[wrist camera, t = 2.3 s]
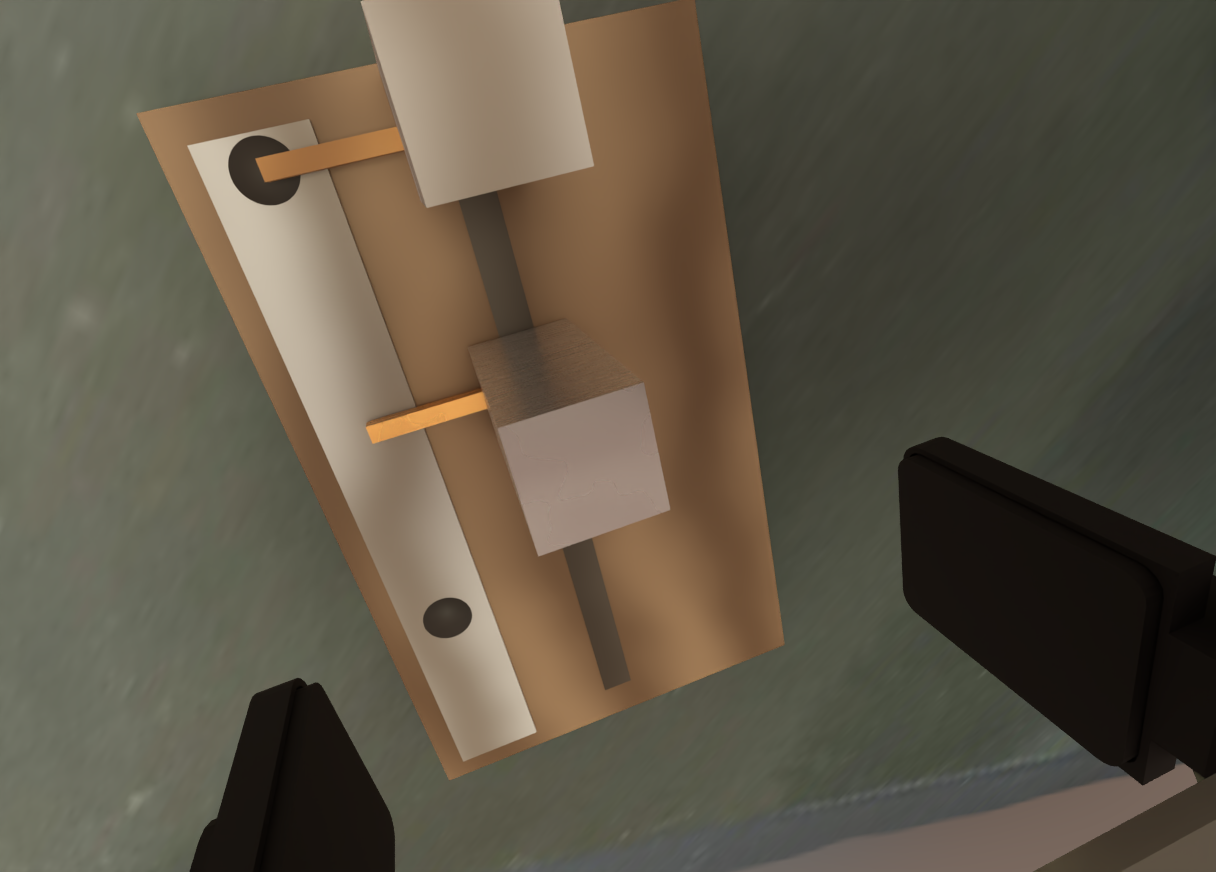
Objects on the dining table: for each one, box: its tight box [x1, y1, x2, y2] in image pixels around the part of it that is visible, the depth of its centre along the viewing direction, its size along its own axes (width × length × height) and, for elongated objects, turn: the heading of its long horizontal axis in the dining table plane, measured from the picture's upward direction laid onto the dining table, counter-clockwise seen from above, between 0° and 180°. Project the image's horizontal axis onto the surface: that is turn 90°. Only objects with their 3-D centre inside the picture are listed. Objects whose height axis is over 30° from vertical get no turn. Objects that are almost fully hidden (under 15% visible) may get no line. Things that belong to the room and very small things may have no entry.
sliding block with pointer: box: [366, 319, 670, 557], centre depth 18 cm, size 7×3×8 cm, turn 103°
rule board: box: [136, 0, 785, 780], centre depth 21 cm, size 16×26×10 cm, turn 13°
